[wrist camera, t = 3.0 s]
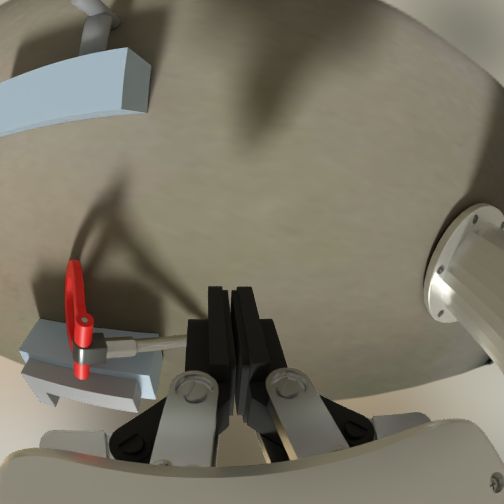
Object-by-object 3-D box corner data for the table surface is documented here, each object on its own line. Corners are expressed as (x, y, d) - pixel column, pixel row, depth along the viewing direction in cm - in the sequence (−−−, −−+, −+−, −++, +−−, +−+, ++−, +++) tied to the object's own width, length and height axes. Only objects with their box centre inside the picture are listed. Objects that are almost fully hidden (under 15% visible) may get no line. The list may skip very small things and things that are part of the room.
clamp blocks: (160, 10, 11) (132, -37, 5) (165, 370, 22) (156, 427, 17) (13, 49, 9) (-40, 41, 4) (54, 353, 21) (32, 399, 15)
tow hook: (65, 239, 16) (76, 318, 11) (186, 251, 23) (231, 311, 19) (59, 309, 18) (75, 386, 14) (164, 309, 25) (199, 369, 21)
